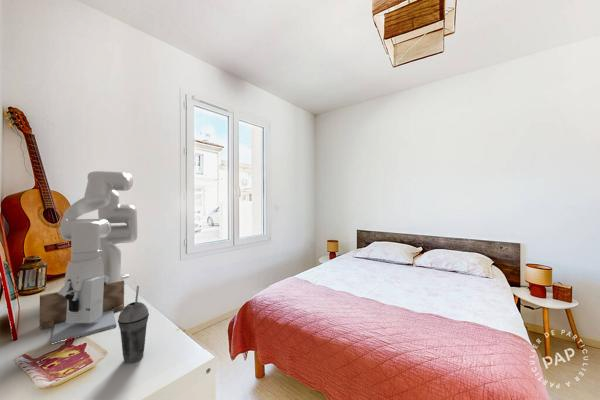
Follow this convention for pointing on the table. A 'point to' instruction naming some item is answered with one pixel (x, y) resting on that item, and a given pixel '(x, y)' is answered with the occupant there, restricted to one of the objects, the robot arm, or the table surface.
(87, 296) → the skincare box
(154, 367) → the table surface
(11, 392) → the table surface
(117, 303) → the walnut screen
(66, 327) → the mat
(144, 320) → the beverage cup
